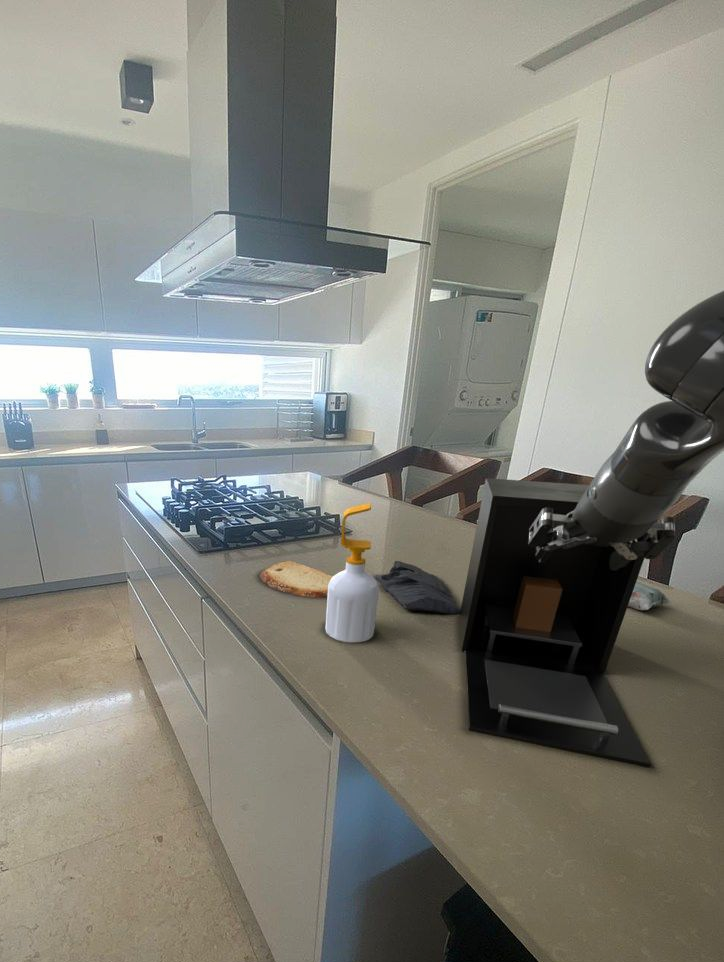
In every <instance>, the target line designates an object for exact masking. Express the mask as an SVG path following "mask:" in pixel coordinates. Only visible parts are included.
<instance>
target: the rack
mask: <svg viewBox="0 0 724 962" xmlns="http://www.w3.org/2000/svg"><path fill="white" fill-rule="evenodd" d="M513 613H514V609H510V608H503V607H496V606H488V605H486V614H485V619H484V623H483V625H484V626H488V625H489V631H490V637H489V641H488V645H487V650H488V651H492V649H493V644H494V640H495V636H496V634H497V635H504V636H511V637H517V638H524V639H530V640H537V641H544V642H550V643H557V644H563V645H570V646H573V647H572V650H571V653H570V657H569V660H568V662H569V664H574V663H575V660H576V657H577V654H578V651H579V648H580V647H582V643H581V641H580V639H579V637H578V635H577V633H576V631H575V629H574V627H573V625H572V623H571V621H570V619H569V617H568V616H562V615H555V618H554V622H553V625H552V629H551V632H545V631H538V630H531V629H524V628H517V627H515V623H514V620H513Z"/></svg>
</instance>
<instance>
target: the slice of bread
mask: <svg viewBox="0 0 724 962" xmlns="http://www.w3.org/2000/svg"><path fill="white" fill-rule="evenodd" d="M259 577H260V579H261V580H262V582H263V583H264V584H265V585H267V586H268V587H270V588H273V589H275V590H278V591H281V592H284V593H288V594H293V595H296V596H302V597H309V598H328V584H329V582H330V580H331V578H332V577H333V576H332V575H329V574H328V573H326V572H324V571H321V570H319V569H315V568H312V567H309V566H307V565H303V564H301V563H298V562H294V561H293V560H288V561H283V562H278V563H275V564H274V565H271V566H269V567H268V568H266V569H265V570H263V571H261V573H260V574H259Z"/></svg>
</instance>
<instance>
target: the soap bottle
mask: <svg viewBox="0 0 724 962" xmlns="http://www.w3.org/2000/svg"><path fill="white" fill-rule="evenodd" d="M371 510H372V504H371V503H370V502H367V503H363V504H359V505H354V506H350V507H348V508H347V509H346V510H344V513H343V516H342V517H343V518H342V523H341V539H340V543H341V546H342V547H343V548H345V549H348V551H349V552H351V555H350V556H348V557H346V560H345V569H343V570H342V571H339V572H337V573H336V574H333V576H332V578H331V580H330V582H329V584H328V597H326V598H327V600H326V613H325V633H326V634H327V635H328V636H329V637H331V638H332V639H335V640H336V641H340V642H344V643H352V644H353V643H363V642H366V641H369V640H370V639H372V638H373V636H374V634H375V626H376V618H377V611H378V601H379V592H380V586H379V583H378V580H377V579H376V578H375V577H374V576H372V575H371V574H370V573H368V572H366V558H364V557H362V554H363V553H364V552H366V551H368V550H371V549H372V541H370V540H364V539H351V538H349V539H348V538H347V537H346V535H345V530H346V520H347V518H348V517H350V516H354V515H357V514H361V513H366V512H369V511H371Z"/></svg>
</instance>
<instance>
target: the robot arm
mask: <svg viewBox="0 0 724 962" xmlns="http://www.w3.org/2000/svg"><path fill="white" fill-rule="evenodd" d="M644 375H645V380H646V382H647V384H648V385H649V386H650V388H652V389H653V390H654V392H657V393H658V394H659V395H662V396H663V397H665V398H666V399H668V400H667V401H662V402H658V403H655V404H653V405H651V406H650V407H648V408H647V409H646V410H644V411H643V412H642V413H640V415H638V416H637V418H636V419H635V420H634V421H633V422H632V425H631V426H630V427H629V428H628V430H627V432H626V433H625V434H624V437H623V438H622V439H621V441H620V442H619V444H618V446H617V447H616V448H615V450H614V451H613V453H611V454H610V456H609V457H608V458H607V459H606V460H605V461H604V463H603V464H602V465H601V467H600V468H599V470H598V471H597V472H596V474H595V476H594V477H593V479H592V480H591V482H590V483H589V484H588V485H589V487H588V488H587V490H586V491H585V493H584V494H583V496H582V497H581V499H580V500H579V502H578V504H577V506H576V508H575V510H573V511H571V512H569V513H568V514H567V515H559V514H553V509H552V508H550V507H547V508H543V509H542V511H541V512H540V514H539V515H538V517H537V518H536V519H535V521H534V522H533V524H532V525H531V527H530V528H529V542H528V547H531V548H536V555H535V557H536V559H539V563H545V562H546V561H547V559H548V558H549V556H550V555H551V553H552V550H555V549H558V548H563V549H569V548H572V547H575V546H578V545H596V546H601V547H608V546H611V547H614V548H615V551H614V552H613V553H612V554H611V556H610V559H609V569H610V570H614V571H617V570H618V569H619V568H622V567H625V566H626V565H627V564H628V563H629V562H630V561H631V560H635V559H637V557H638V556H644V557H645V558H644V560H655V559H657V558H658V557H659V556H660V555H661V554H662V552H664V551H665V550H666V549H667V547H668V546H669V545H670V544H671V543H672V542H673V541H674V540H675V539H676V525H675V524H676V521H675V520H676V519H675V518H674V517H673V516H665V517H663V516H664V515H665V513H667V512H668V511H669V509H670V508H671V507H672V506H674V504H676V502H677V501H678V500H679V499H680V498H681V496H682V495H683V493H684V492H685V490H686V488H687V487H688V486H689V484H690V483H691V482H692V481H693V480H694V479H695V478H696V477H697V476H698V475H699V474H700V473H701V472H702V471H703V470H704V469H705V468H706V467H707V466H708V465H709V464H710V463H711V462H712V461H713V460H715V458H717V457H718V456H719V455H721V454H722V453H724V290H722V291H719V292H717V293H714V294H713V295H711V296H709V297H707V298H704V299H703V300H701V301H700V302H698V303H696V304H695V305H693V306H691V307H690V308H689V309H687V310H686V311H684V312H683V313H682V314H680V315H679V316H678V317H677V318H676V319H674V320H673V321H672V322H671V323H669V325H668V326H667V327H666V328H664V330H663V331H662V332H661V333H660V335H658V337H657V338H656V340H655V341H654V343H653V344H652V346H651V348H650V349H649V352H648V354H647V356H646V360H645V363H644ZM659 519H660V521H659ZM657 520H658V521H659V522H658V521H657ZM656 522H657V523H656ZM646 533H648V534H649V535H648V536H647V537H646V538H645V540H644V541H642V542H637V538H640V537H642V536H644V535H645V534H646ZM569 534H570V536H571V537H572V538H571V539H569ZM555 536H557V539H556V540H555V541H553V537H555Z"/></svg>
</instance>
